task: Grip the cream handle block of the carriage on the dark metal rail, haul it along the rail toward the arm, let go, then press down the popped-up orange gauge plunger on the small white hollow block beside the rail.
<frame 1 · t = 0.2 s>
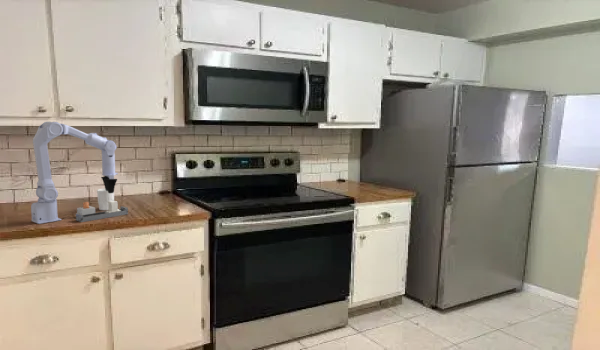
hand: (109, 191, 199), 10 cm above the countertop, tool pointing down, fingers open, 7 cm apart
gauge plunger: (86, 206, 189), point 4 cm above the countertop, slide at 0.0 cm
rail: (103, 217, 189), on the countertop
white cup: (106, 209, 206), on the countertop
carriage: (113, 207, 192), point 4 cm above the countertop, slide at 0.0 cm
white hollow block: (86, 216, 190), on the countertop
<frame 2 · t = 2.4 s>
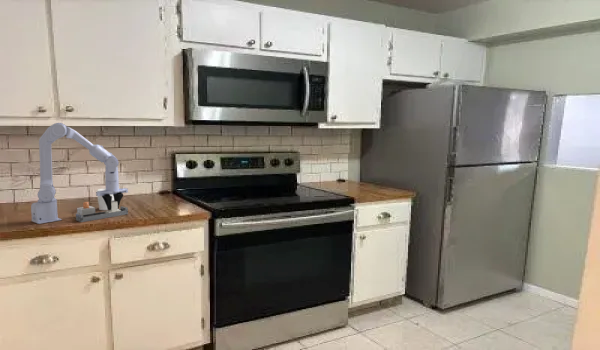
hand: (113, 209, 192), 3 cm above the countertop, tool pointing down, fingers closed on carriage, 3 cm apart
carriage: (113, 207, 192), point 4 cm above the countertop, slide at 0.0 cm, touching gripper
everything else where it was.
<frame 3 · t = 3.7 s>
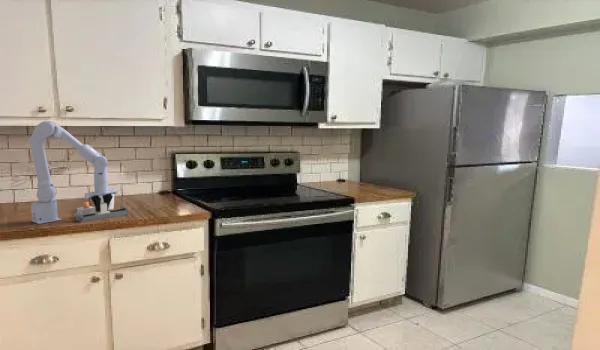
hand: (102, 210, 188), 3 cm above the countertop, tool pointing down, fingers closed on carriage, 3 cm apart
carriage: (102, 209, 188), point 4 cm above the countertop, slide at 5.2 cm, touching gripper
everything else where it was.
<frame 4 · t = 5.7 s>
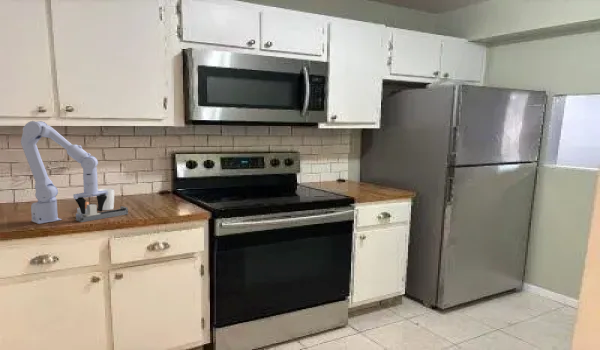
hand: (91, 212, 184), 3 cm above the countertop, tool pointing down, fingers open, 7 cm apart
carriage: (91, 210, 184), point 4 cm above the countertop, slide at 10.0 cm
everything else where it was.
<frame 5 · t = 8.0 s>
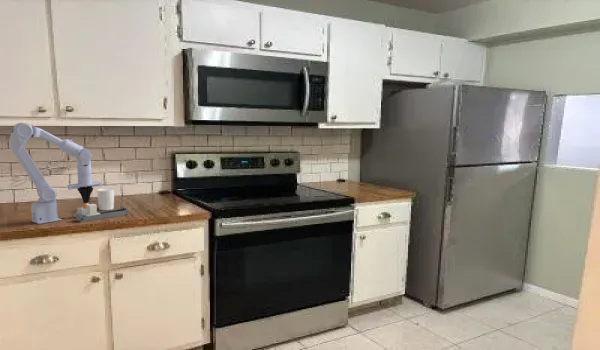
hand: (86, 202, 189), 6 cm above the countertop, tool pointing down, fingers closed, pressing on gauge plunger
gauge plunger: (86, 207, 189), point 4 cm above the countertop, slide at 0.2 cm, touching gripper
everything else where it was.
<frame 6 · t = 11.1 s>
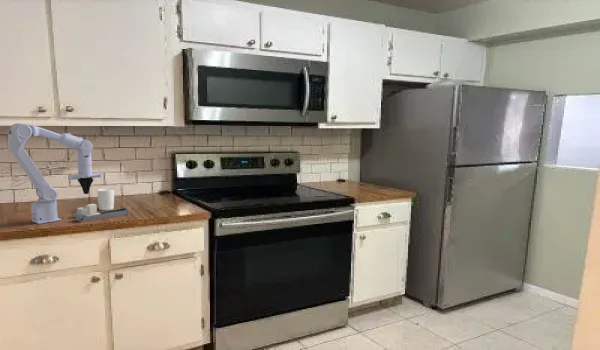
hand: (86, 193, 190), 10 cm above the countertop, tool pointing down, fingers closed
gauge plunger: (86, 210, 190), point 3 cm above the countertop, slide at 1.8 cm
everything else where it was.
at the end: carriage slide at 10.0 cm; gauge plunger slide at 1.8 cm; the gripper is holding nothing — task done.
